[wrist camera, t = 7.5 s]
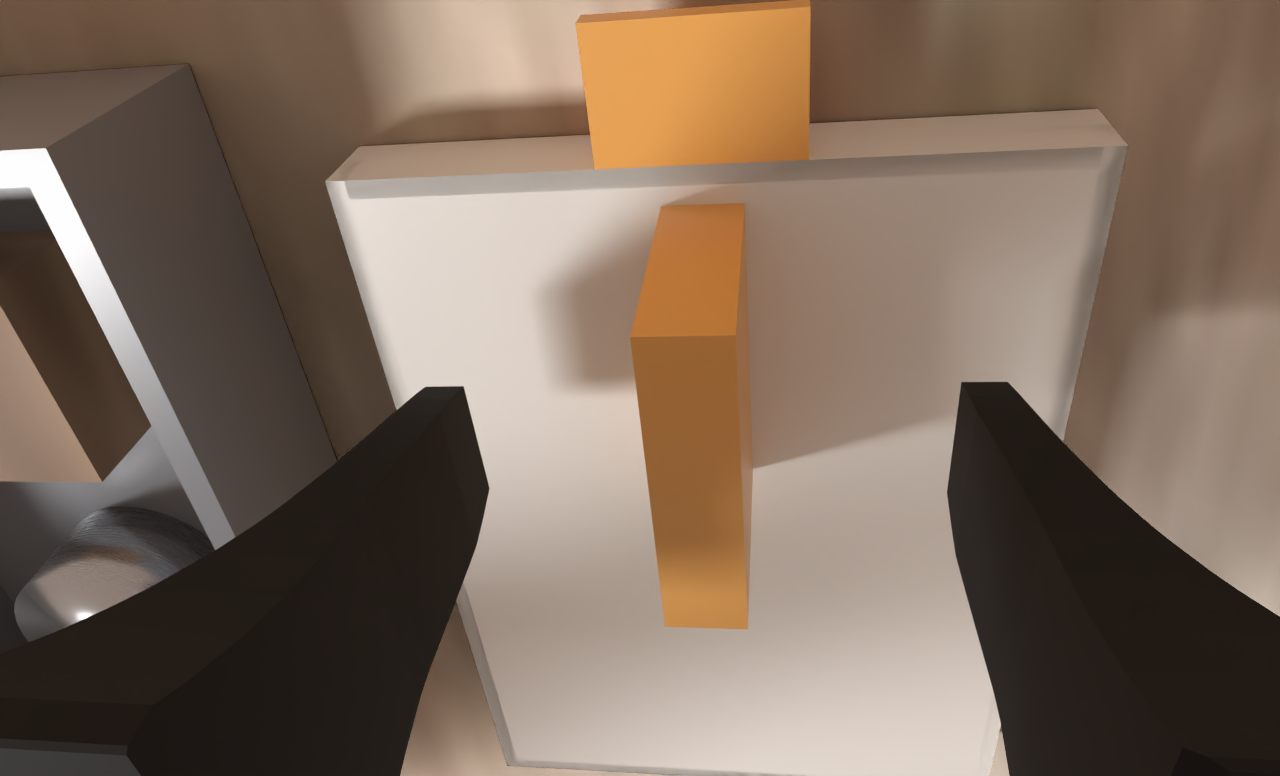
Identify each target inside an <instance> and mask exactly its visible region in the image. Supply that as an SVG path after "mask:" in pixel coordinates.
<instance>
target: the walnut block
mask: <svg viewBox="0 0 1280 776" xmlns="http://www.w3.org/2000/svg"><path fill="white" fill-rule="evenodd" d="M150 427H151V424H150V422H149V420H148V418H147V416H146V414H145V412H144V410H143V408H142V406H141V404H140V402H139V400H138V398H137V396H136V394H135V392H134V390H133V389H132V387H131V385H130V383H129V381H128V379H127V377H126V375H125V373H124V371H123V369H122V367H121V365H120V363H119V361H118V359H117V357H116V355H115V353H114V351H113V349H112V348H111V346H110V344H109V342H108V340H107V338H106V336H105V334H104V332H103V330H102V328H101V326H100V324H99V322H98V320H97V318H96V316H95V314H94V312H93V310H92V308H91V306H90V305H89V303H88V301H87V299H86V297H85V295H84V293H83V291H82V289H81V287H80V285H79V283H78V281H77V279H76V277H75V275H74V273H73V271H72V269H71V267H70V265H69V263H68V262H67V260H66V258H65V256H64V254H63V252H62V250H61V248H60V246H59V244H58V242H57V240H56V238H55V236H54V234H53V232H52V231H41V232H15V233H0V481H14V482H103V481H104V480H105V479H106V477H107V476H108V475H109V474H110V473H111V472H112V471H113V469H114V468H115V467H116V466H117V465H118V464H119V463H120V461H121V460H122V459H123V458H124V457H125V456H126V455H127V454H128V452H129V451H130V450H131V449H132V448H133V447H134V446H135V444H136V443H137V442H138V441H139V440H140V439H141V438H142V437H143V435H144V434H145V433H146V432H147V431H148V430H149V429H150Z"/></svg>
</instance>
